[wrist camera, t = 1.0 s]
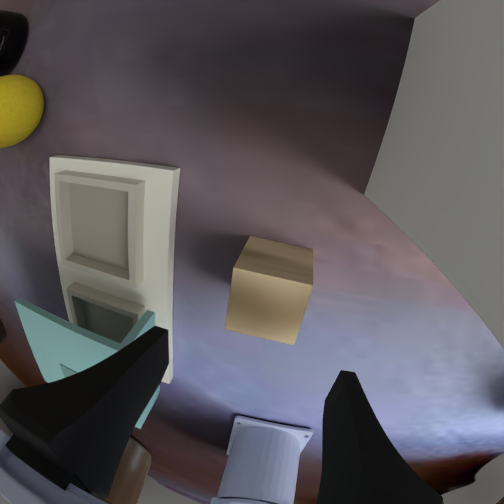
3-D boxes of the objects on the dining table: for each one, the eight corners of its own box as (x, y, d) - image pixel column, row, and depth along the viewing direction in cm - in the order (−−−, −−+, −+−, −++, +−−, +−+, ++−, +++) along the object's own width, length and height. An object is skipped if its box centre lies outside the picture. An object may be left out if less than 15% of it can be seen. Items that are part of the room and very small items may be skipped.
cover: (160, 392, 24) (140, 429, 20) (69, 353, 25) (44, 381, 21) (154, 312, 20) (123, 354, 16) (49, 274, 21) (13, 301, 17)
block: (298, 301, 20) (294, 344, 16) (241, 288, 21) (224, 328, 17) (312, 249, 19) (313, 285, 15) (250, 235, 19) (233, 267, 15)
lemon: (24, 142, 19) (-48, 162, 12) (25, 82, 17) (-48, 89, 10) (63, 136, 18) (-20, 155, 11) (65, 68, 16) (-18, 67, 9)
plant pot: (132, 467, 42) (101, 531, 27) (64, 415, 38) (21, 478, 24) (185, 465, 35) (151, 551, 21) (98, 401, 32) (40, 490, 18)
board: (173, 376, 26) (164, 393, 24) (80, 340, 27) (69, 352, 25) (180, 168, 18) (164, 174, 16) (58, 154, 19) (38, 159, 17)
